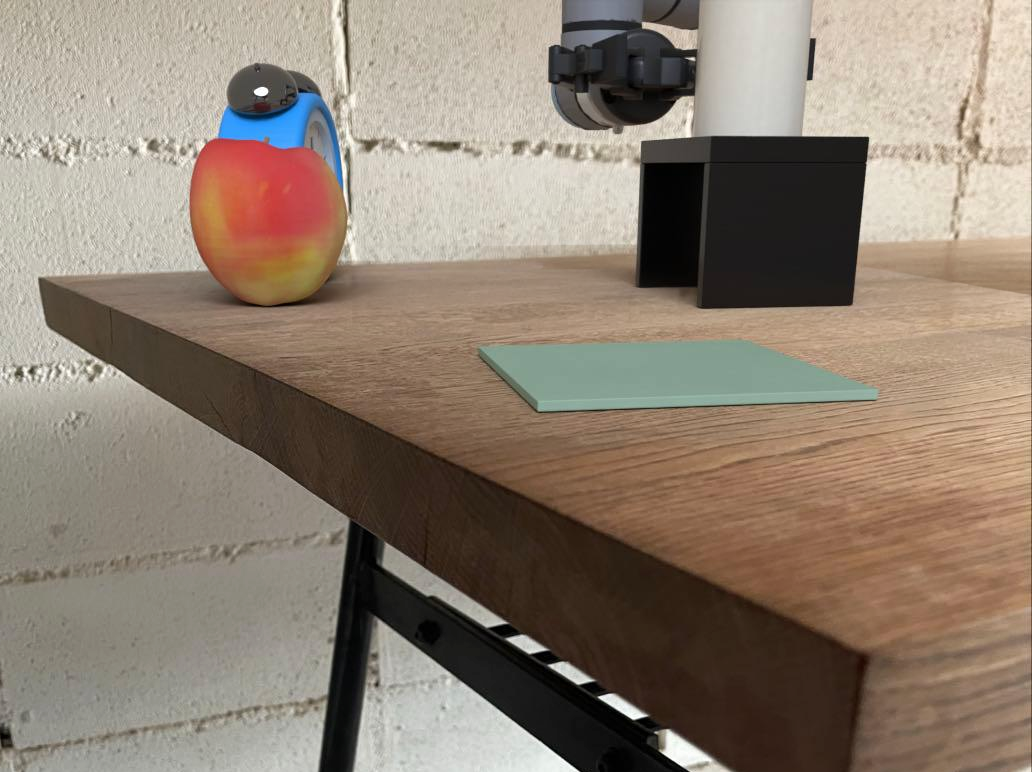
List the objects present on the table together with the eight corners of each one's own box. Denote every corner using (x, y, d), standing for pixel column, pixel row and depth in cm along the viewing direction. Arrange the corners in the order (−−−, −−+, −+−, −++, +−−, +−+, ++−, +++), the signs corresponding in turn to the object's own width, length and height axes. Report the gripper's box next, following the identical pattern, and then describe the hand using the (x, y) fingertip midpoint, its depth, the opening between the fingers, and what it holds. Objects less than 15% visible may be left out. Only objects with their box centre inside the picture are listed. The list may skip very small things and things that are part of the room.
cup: (775, 140, 77) (787, -22, 74) (820, 137, 71) (836, -40, 68) (677, 139, 76) (685, -25, 73) (714, 137, 70) (725, -44, 66)
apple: (275, 316, 65) (264, 133, 62) (162, 306, 70) (146, 135, 67) (379, 301, 73) (373, 136, 70) (270, 292, 78) (261, 138, 75)
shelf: (764, 283, 84) (774, 141, 81) (853, 305, 71) (869, 136, 68) (634, 285, 82) (640, 140, 79) (701, 308, 69) (711, 135, 66)
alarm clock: (304, 291, 78) (292, 57, 73) (218, 290, 79) (201, 58, 74) (348, 274, 90) (340, 73, 86) (273, 273, 91) (261, 74, 86)
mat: (744, 347, 54) (745, 339, 54) (878, 400, 42) (879, 389, 42) (477, 354, 52) (477, 346, 52) (537, 412, 40) (537, 401, 40)
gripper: (761, 127, 101) (878, 117, 81) (486, 125, 97) (538, 114, 77) (768, 35, 98) (890, 2, 78) (486, 29, 94) (540, -8, 74)
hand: (716, 57), depth 77 cm, fingers open, 13 cm apart
